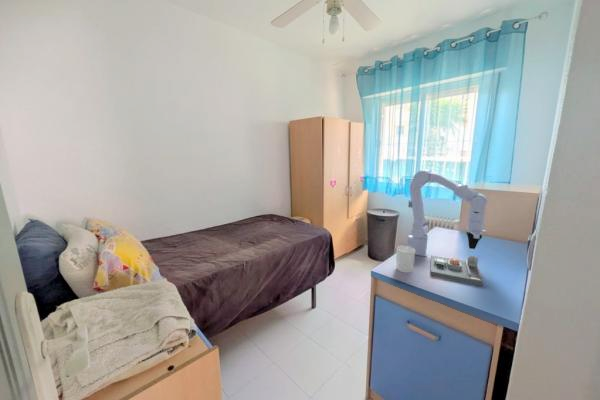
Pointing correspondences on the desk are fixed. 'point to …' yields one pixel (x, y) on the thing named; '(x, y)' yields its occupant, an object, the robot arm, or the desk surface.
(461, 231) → the desk surface
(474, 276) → the panel
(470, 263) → the grey boxy piece
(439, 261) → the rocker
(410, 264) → the white cup
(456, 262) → the push button
